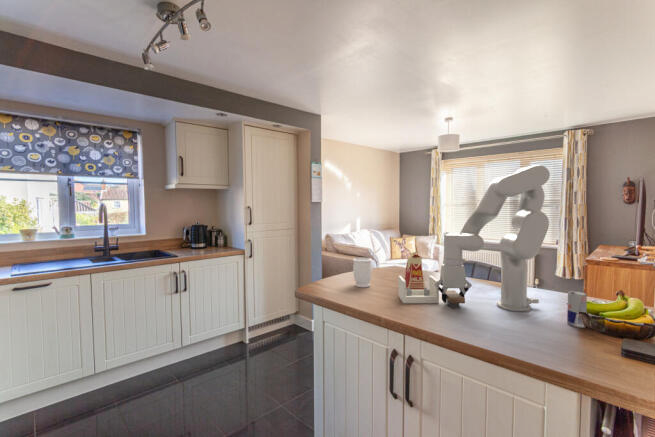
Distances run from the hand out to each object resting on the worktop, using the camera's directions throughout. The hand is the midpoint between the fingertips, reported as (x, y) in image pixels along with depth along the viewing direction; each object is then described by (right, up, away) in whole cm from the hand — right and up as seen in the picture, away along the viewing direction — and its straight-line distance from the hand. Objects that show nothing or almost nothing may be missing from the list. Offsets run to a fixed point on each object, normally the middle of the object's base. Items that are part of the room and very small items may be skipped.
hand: (452, 301), depth 136 cm
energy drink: (+36, -2, -23) cm, 43 cm away
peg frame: (-13, -1, +10) cm, 16 cm away
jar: (-36, -1, +35) cm, 50 cm away
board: (0, +1, 0) cm, 1 cm away
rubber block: (0, -2, 0) cm, 2 cm away
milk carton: (-9, -1, +28) cm, 30 cm away
